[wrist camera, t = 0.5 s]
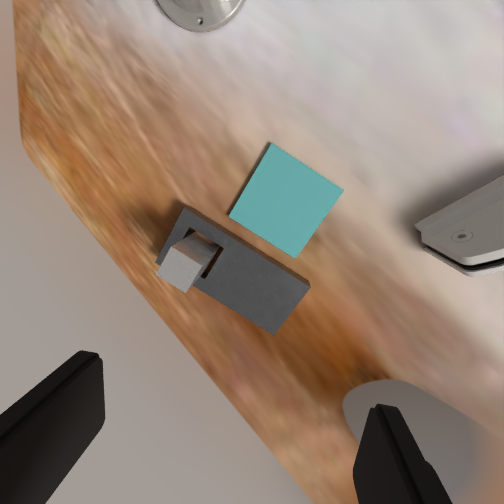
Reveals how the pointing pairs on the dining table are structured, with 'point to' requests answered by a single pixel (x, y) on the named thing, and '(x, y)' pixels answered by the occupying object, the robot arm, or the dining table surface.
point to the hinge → (469, 231)
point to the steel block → (187, 260)
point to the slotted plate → (242, 274)
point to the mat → (285, 201)
